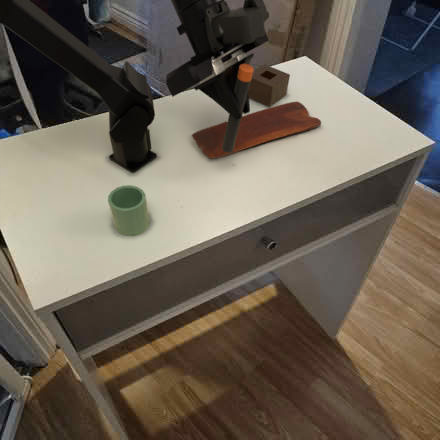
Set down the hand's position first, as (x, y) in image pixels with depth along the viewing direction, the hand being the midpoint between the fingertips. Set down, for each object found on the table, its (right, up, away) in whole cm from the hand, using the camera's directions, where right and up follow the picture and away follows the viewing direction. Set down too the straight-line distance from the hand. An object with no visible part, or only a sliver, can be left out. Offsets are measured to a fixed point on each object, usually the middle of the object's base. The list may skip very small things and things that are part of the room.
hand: (243, 115), depth 61 cm
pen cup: (-18, -16, +3) cm, 25 cm away
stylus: (-2, -3, +6) cm, 7 cm away
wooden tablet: (+4, +5, +19) cm, 20 cm away
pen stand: (+7, +17, +26) cm, 32 cm away
